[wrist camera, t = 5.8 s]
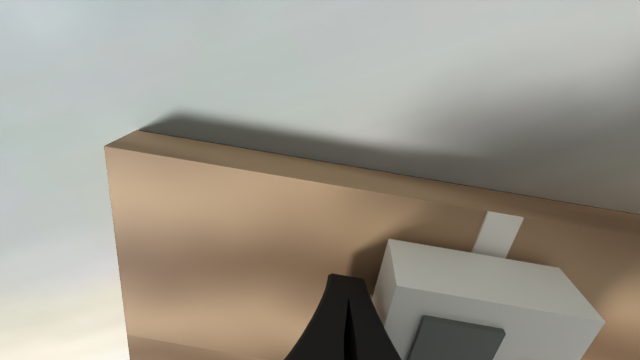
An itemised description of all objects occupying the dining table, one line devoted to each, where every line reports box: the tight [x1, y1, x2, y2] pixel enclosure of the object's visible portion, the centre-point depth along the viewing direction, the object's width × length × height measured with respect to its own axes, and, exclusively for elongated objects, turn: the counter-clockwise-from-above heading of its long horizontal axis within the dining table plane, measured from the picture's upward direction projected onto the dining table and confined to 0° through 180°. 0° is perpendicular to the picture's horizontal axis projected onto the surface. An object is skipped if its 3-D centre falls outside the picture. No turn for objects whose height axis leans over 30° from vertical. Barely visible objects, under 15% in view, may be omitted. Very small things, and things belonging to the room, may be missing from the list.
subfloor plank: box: [104, 130, 640, 360], centre depth 16 cm, size 14×22×2 cm, turn 82°
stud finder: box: [372, 239, 606, 360], centre depth 12 cm, size 5×6×3 cm
